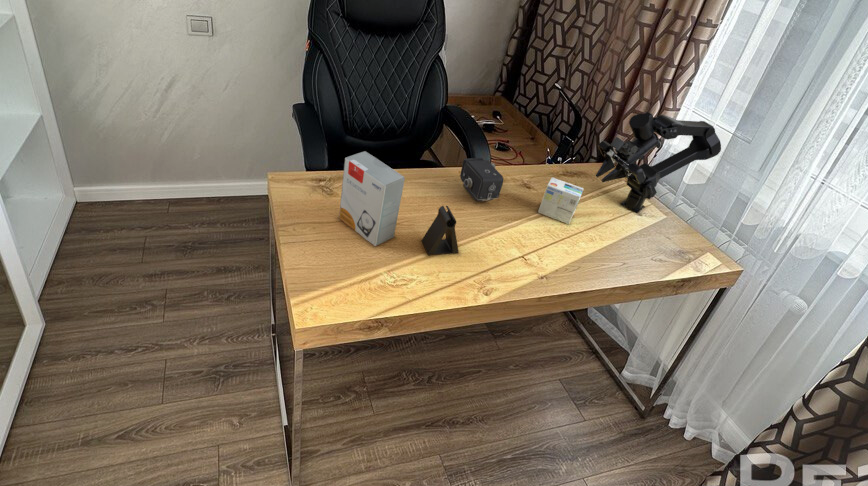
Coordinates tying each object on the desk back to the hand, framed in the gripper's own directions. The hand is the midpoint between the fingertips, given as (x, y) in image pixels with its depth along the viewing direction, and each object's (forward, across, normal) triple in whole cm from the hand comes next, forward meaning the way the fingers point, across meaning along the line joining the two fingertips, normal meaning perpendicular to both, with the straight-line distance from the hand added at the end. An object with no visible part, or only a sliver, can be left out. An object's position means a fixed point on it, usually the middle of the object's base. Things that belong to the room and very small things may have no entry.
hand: (599, 178), depth 162 cm
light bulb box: (+18, 0, 0) cm, 18 cm away
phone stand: (+50, +9, -32) cm, 60 cm away
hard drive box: (+62, -2, -44) cm, 77 cm away
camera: (+33, -14, -15) cm, 39 cm away
